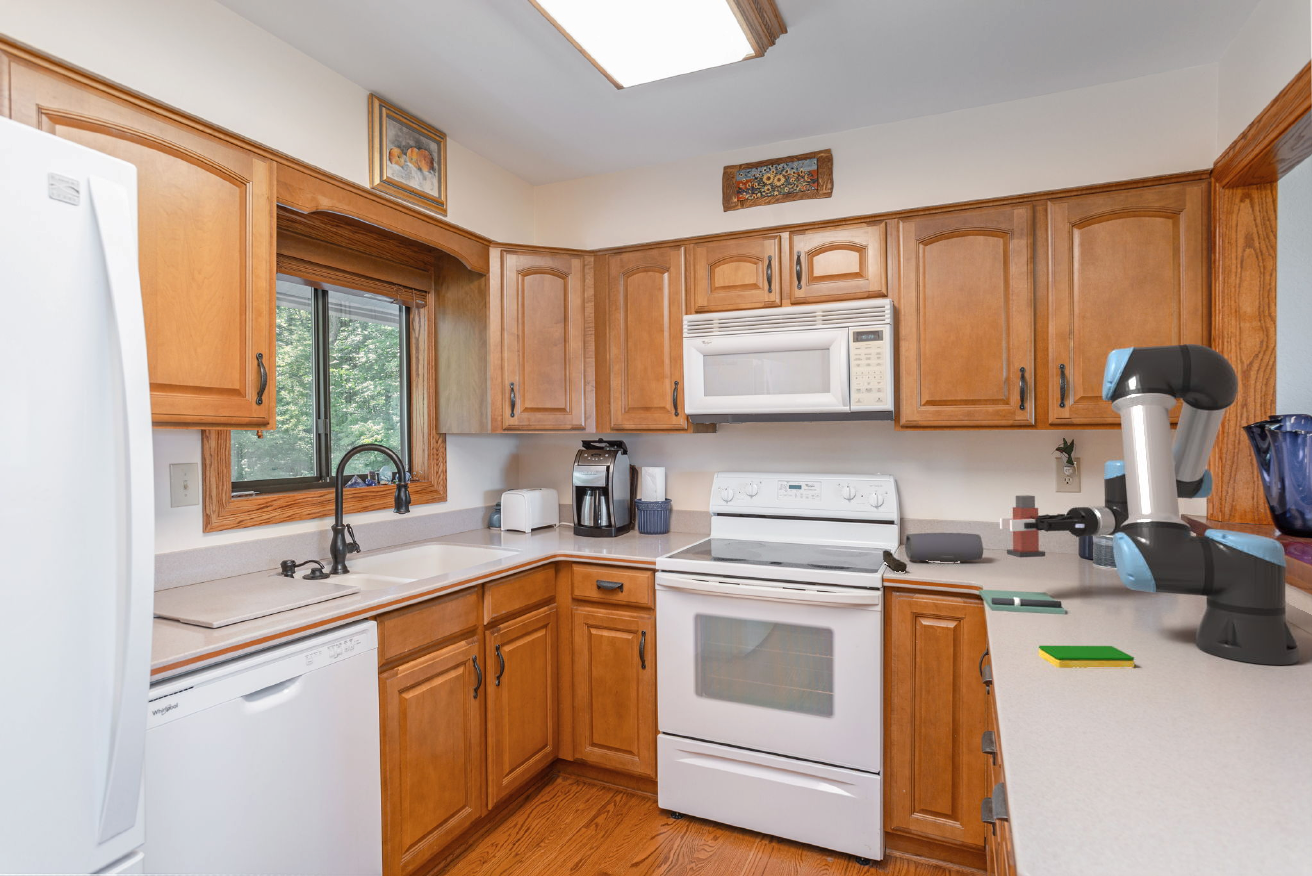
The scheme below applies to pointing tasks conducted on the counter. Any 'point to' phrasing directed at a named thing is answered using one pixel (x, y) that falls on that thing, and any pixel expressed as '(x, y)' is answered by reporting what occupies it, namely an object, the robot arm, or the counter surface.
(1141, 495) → the robot arm
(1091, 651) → the dish sponge
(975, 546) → the bluetooth speaker
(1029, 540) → the grey-capped red pillar
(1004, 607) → the cutting mat
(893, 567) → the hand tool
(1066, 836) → the counter surface
